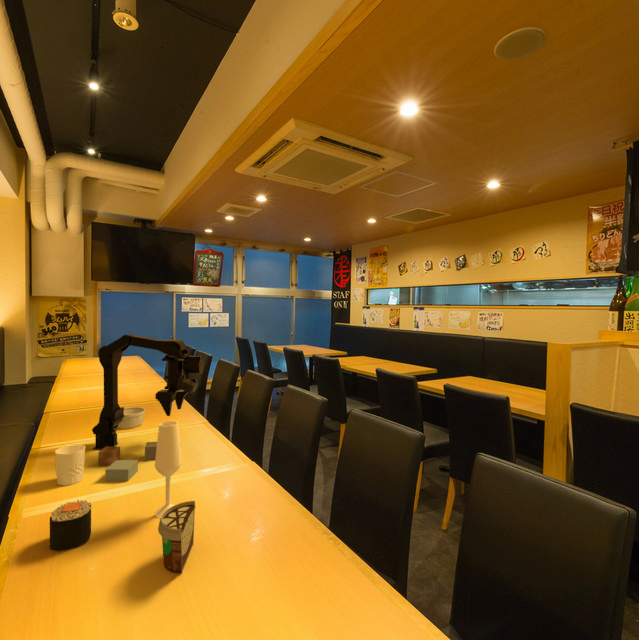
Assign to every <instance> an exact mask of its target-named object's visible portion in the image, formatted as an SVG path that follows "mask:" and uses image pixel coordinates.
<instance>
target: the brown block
mask: <svg viewBox="0 0 639 640" xmlns="http://www.w3.org/2000/svg"><path fill="white" fill-rule="evenodd" d="M156 449H157V441H150V442H149V441H146V443H145V446H144V462H149V461H150V462H151V461H155V459H156Z"/></svg>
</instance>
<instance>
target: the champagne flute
mask: <svg viewBox="0 0 639 640" xmlns="http://www.w3.org/2000/svg"><path fill="white" fill-rule="evenodd" d="M156 442H157V449H156V459H155V460H154V468H155V470H156V471H157V472H158V474H160V475H161V476H163V477H165V504H164V505H162V506H160V507H159V508H158V509H156V510H155V511H154V517H156V518H158V519H161V517H162V515H163V513H164V512H165V511H166V510H168V509H169V508H171V507H172V506H174V505H175V504H172V503H171V482H172V481H171V478H172V476H173V475H174V474H175V473H176V472H177V471H179V469H180V468H181V465H182V464H183V462H182V451H181V450H182V449H181V441H180V428H179V422H178V421H176V420H166V421H163V422H160V423H159V424H158V435H157V440H156Z"/></svg>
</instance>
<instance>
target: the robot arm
mask: <svg viewBox="0 0 639 640" xmlns="http://www.w3.org/2000/svg"><path fill="white" fill-rule="evenodd" d="M130 346H132V347H138V348H143V349H150V350H153V351H154V350H155V351H159V352H160V353H162V354H165V356H163V358H162V359H161V361H162V362H166V363H167V365H166V375H164V379H166V385H165V386H164V389H160V390H158V391H157V392H156V393H155V395H154V397H155V398H154V399H155V400H156V401H158V403H159V404H160V406H161V407H162V409H163V411H164V414H165V415H166V416H167V417H171V413H172V407H173V402H174V401H175V404H176V409H177V410H181V409H182V406H183V403H184V400H185V397H186V395H187V394H192V393H194V392H196V390H197V389H198V387H199V382H198V378H196V377H193V378H191V379H189V378H186V374H203V372H204V369H205V368H204V365H205V364H204V360H203V356H202V355H191V353H190V352H189V351H188V349H187V348H186V343H185V342H184V340H182V339H157V338H151V337H146V336H140V335H135V334H132V333H128V334H124V335H122V336H120V337H119V338H117V339H116V340H114V341H113V342H110V343H109V344H107V345H102V346H101V347H100V348H99V349H98V353H97V354H98V359H99V360H98V361H99V363H100V365H101V367H102V369H103V406H102V409H101V411H100V414H99V419H98V423H97V424H95V426H93V427H92V429H91V431H92V433H93V435H95V440H94V441H95V442H94V443H95V446H93V448H92V450H102V449H103V448H105V447H106V446H107V447H116V445H118V444H119V442H118V433H117V429H118V428H117V427H118V425H119V424H120V423H121V422H122V420H123V417H125V416H124V408H125V406H121V405H120V404H119V383H118V381H119V379H118V378H119V377H118V376H119V373H118V372H119V370H118V369H119V365H120V363H121V361H122V357H123V356H122V355H123V353H124V352H125V351H127V350H128V349H129V348H130ZM184 373H186V374H184Z"/></svg>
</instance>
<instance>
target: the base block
mask: <svg viewBox="0 0 639 640" xmlns="http://www.w3.org/2000/svg"><path fill="white" fill-rule="evenodd" d="M104 470H105V471H104V472H105V474H104V476H105V477H104V478H105V479H104V481H105V482H129V481H130V480H131V479H132V478H133V477H134V476H135V475H136V474H137V473H138V472H139V460H137V459H133V460H132V459H131V460H128V459H124V460H123V459H120V460H116V461H115V462H114V463H113V464H111V465H110V466H107V468H106V469H105V468H104Z"/></svg>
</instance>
